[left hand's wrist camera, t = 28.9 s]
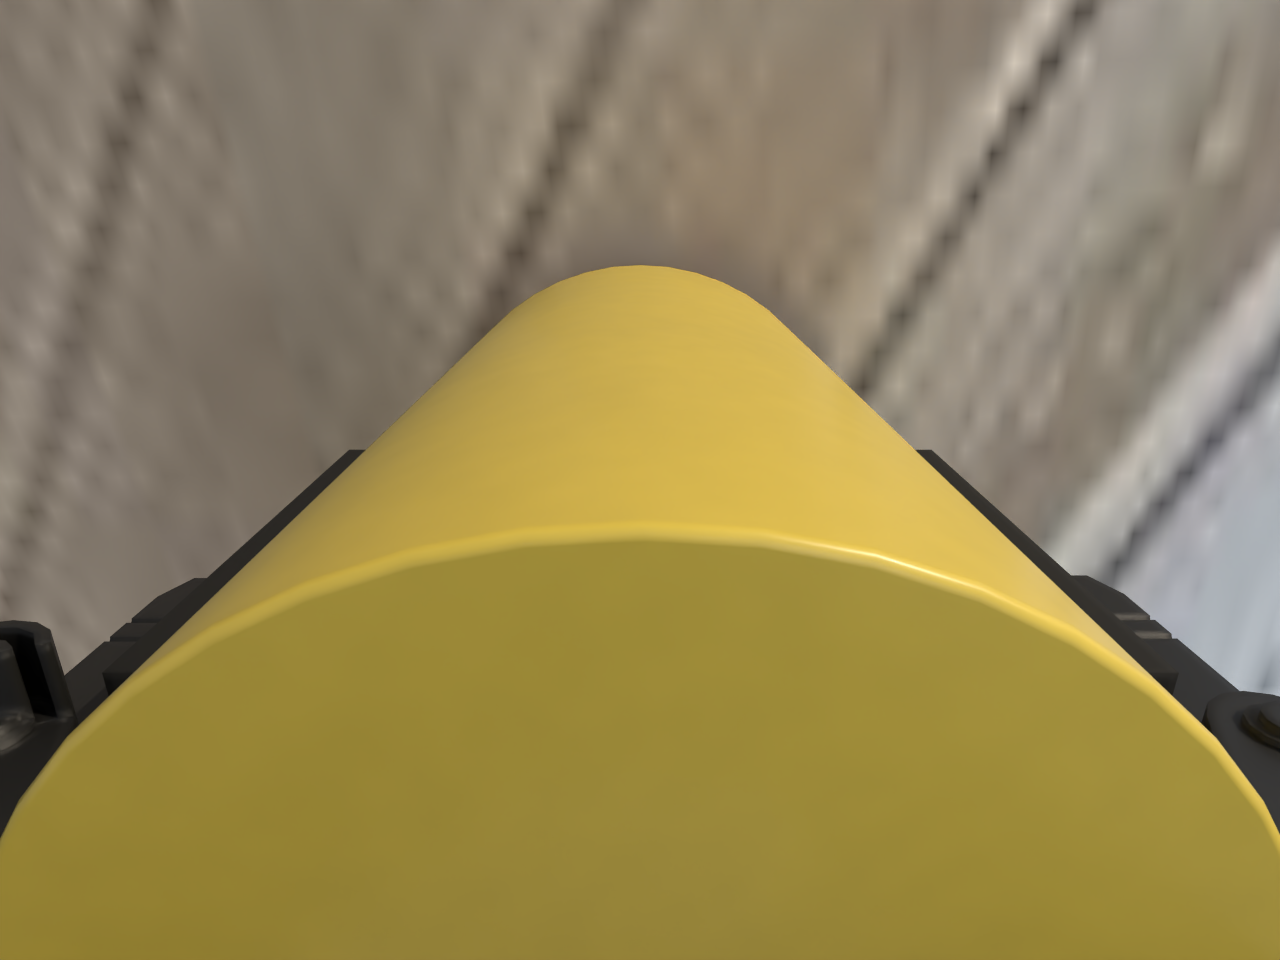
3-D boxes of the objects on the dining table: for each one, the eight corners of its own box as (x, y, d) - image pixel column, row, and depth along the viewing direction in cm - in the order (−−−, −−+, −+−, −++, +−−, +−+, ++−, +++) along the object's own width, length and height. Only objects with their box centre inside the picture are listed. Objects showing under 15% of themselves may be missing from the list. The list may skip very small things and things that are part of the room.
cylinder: (640, 169, 15) (642, 99, 3) (915, 466, 17) (1565, 1125, 5) (365, 465, 17) (-287, 1123, 5) (639, 696, 19) (640, 1546, 7)
